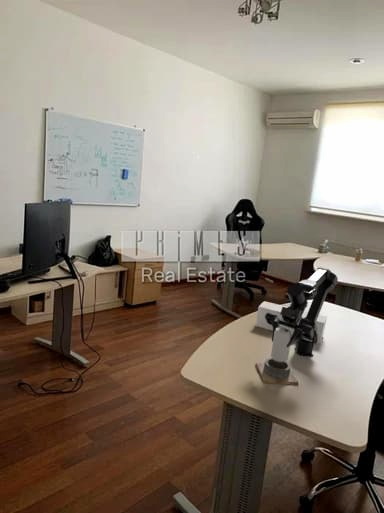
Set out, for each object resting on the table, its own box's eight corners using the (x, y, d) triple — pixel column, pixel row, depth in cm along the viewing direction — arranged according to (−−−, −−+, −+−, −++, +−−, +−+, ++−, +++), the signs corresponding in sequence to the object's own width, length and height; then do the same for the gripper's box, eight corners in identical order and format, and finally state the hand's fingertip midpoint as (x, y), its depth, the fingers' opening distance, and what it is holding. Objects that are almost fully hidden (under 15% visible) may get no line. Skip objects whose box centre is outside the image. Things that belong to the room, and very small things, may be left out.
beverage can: (290, 363, 144) (295, 333, 142) (275, 363, 143) (279, 333, 140) (283, 355, 150) (287, 326, 148) (268, 355, 149) (272, 326, 146)
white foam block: (322, 336, 192) (326, 316, 189) (320, 344, 182) (324, 322, 180) (261, 320, 205) (264, 301, 202) (255, 326, 195) (258, 306, 193)
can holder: (286, 367, 155) (288, 356, 154) (298, 384, 142) (300, 373, 141) (255, 365, 153) (257, 354, 152) (264, 382, 141) (265, 371, 140)
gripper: (270, 292, 150) (252, 325, 144) (316, 306, 139) (299, 343, 133) (276, 307, 158) (259, 339, 152) (320, 321, 147) (304, 356, 141)
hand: (279, 343), depth 144 cm, fingers closed on beverage can, 6 cm apart
